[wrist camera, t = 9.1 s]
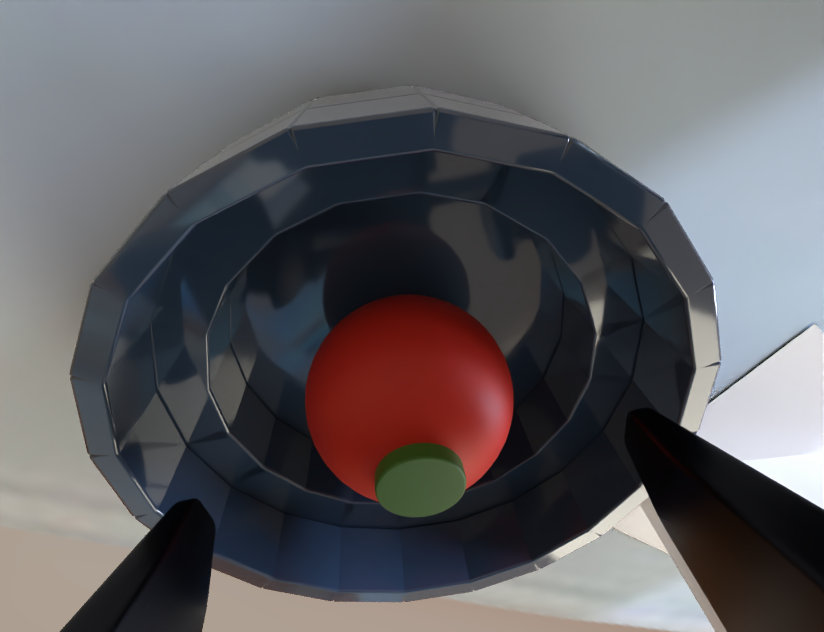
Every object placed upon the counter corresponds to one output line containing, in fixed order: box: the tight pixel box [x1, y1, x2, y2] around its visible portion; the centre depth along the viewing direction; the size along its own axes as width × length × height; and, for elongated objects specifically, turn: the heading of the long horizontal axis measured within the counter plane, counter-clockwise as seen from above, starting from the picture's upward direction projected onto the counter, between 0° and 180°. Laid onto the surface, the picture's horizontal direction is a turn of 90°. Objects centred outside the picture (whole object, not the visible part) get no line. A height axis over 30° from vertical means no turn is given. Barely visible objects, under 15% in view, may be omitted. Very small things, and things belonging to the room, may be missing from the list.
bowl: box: [70, 85, 721, 602], centre depth 12 cm, size 13×13×4 cm
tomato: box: [305, 294, 514, 517], centre depth 11 cm, size 5×5×5 cm
